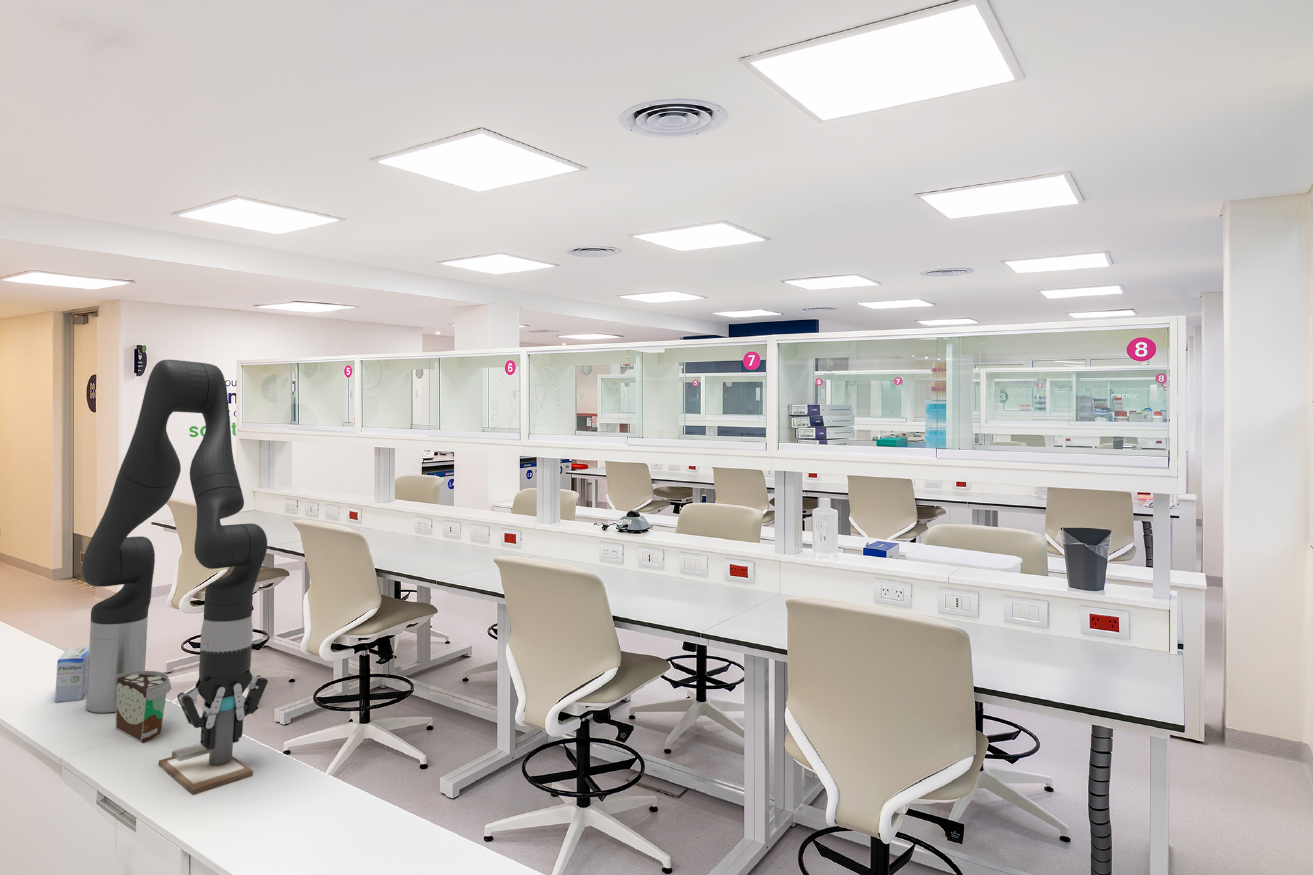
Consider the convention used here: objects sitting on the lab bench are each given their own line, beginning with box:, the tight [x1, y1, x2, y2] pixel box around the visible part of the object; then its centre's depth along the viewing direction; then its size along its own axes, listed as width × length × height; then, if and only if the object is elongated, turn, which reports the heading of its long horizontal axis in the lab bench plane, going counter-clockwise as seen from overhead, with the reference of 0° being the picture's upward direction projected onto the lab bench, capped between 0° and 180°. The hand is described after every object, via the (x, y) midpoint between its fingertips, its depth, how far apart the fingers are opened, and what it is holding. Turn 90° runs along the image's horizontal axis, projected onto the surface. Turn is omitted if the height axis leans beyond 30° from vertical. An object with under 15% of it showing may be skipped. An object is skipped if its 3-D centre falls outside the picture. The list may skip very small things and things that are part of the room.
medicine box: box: [54, 646, 89, 703], centre depth 150 cm, size 8×4×9 cm, turn 28°
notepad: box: [158, 743, 254, 796], centre depth 123 cm, size 14×9×2 cm, turn 52°
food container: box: [114, 670, 172, 744], centre depth 136 cm, size 12×6×10 cm, turn 59°
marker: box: [209, 696, 235, 765], centre depth 124 cm, size 4×4×11 cm
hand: (221, 744), depth 124 cm, fingers closed on marker, 3 cm apart
